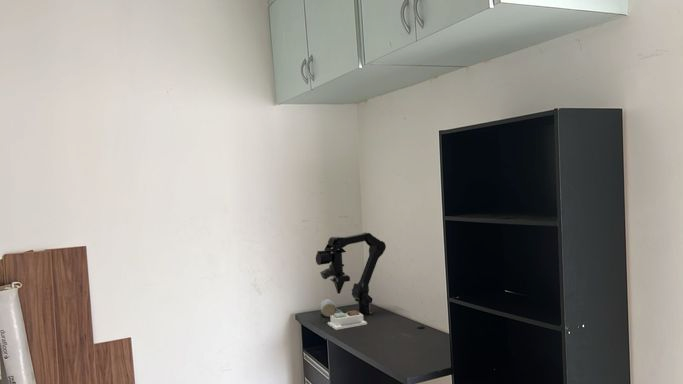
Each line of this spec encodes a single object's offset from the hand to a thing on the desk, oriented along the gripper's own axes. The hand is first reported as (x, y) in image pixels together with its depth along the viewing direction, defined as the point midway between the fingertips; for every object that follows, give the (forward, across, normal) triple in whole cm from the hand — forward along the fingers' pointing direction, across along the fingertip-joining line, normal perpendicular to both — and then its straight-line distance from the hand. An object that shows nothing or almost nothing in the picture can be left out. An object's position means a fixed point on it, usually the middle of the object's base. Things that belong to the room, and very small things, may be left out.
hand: (338, 293), depth 273 cm
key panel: (+13, +11, 0) cm, 17 cm away
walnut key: (+11, +9, +4) cm, 15 cm away
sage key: (+11, +9, -3) cm, 14 cm away
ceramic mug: (+13, -10, -1) cm, 17 cm away
